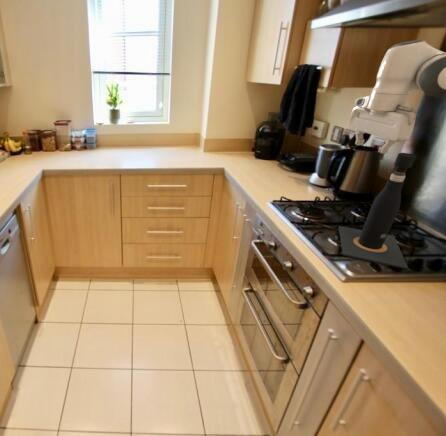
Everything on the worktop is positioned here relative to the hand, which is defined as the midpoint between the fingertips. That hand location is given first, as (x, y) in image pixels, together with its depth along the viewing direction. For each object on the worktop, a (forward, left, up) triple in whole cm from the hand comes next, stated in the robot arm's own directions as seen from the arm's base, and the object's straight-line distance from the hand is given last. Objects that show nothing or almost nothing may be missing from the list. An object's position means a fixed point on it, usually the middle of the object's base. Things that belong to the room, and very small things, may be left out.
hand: (369, 148), depth 100 cm
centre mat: (-7, +10, -29) cm, 32 cm away
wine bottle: (-7, +10, -29) cm, 31 cm away
